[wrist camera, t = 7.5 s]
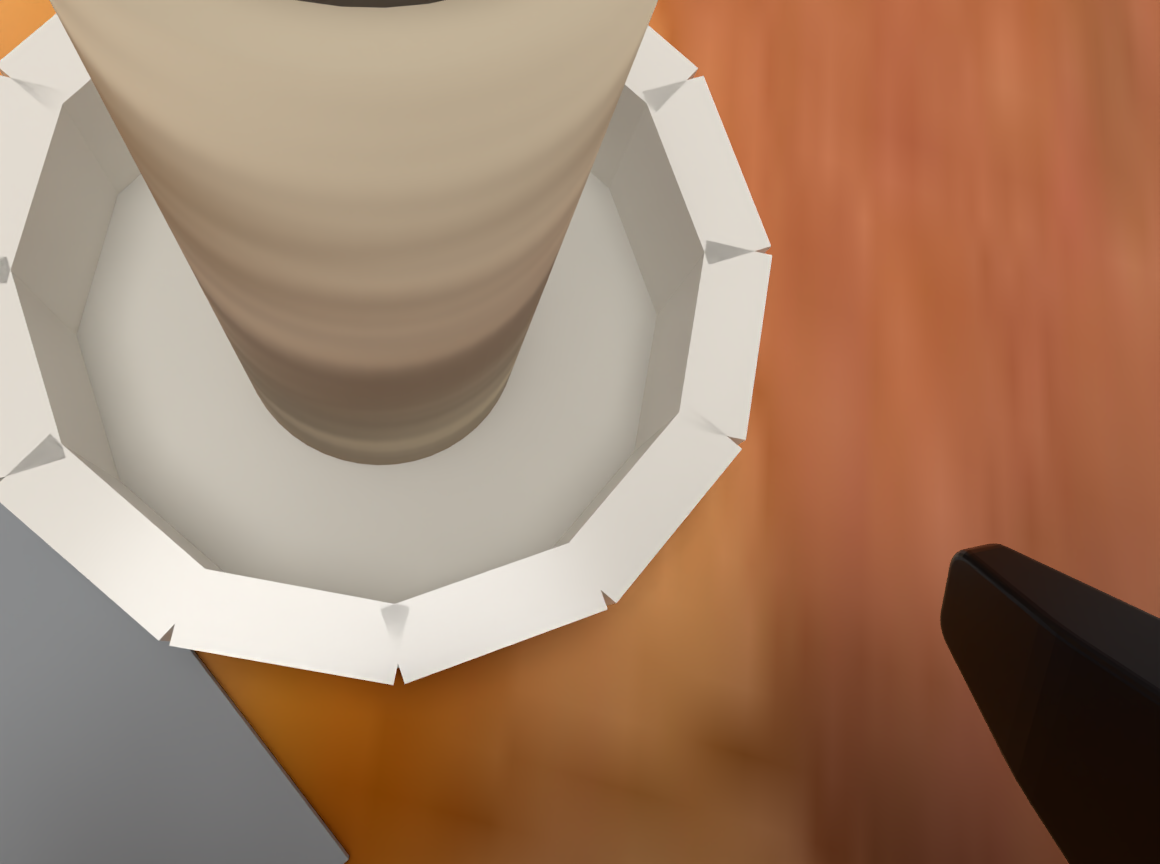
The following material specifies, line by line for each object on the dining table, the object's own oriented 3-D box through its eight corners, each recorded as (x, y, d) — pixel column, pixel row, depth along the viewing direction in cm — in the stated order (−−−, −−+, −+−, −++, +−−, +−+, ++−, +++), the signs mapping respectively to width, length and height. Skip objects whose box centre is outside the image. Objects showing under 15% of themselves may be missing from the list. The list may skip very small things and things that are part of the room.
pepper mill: (556, 408, 18) (1275, -732, 3) (299, 506, 17) (-341, -494, 2) (457, 172, 19) (688, -1716, 4) (202, 254, 18) (-814, -1860, 3)
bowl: (817, 319, 20) (906, 246, 16) (406, 816, 17) (408, 858, 14) (358, -77, 20) (350, -232, 16) (-125, 353, 17) (-259, 276, 14)
